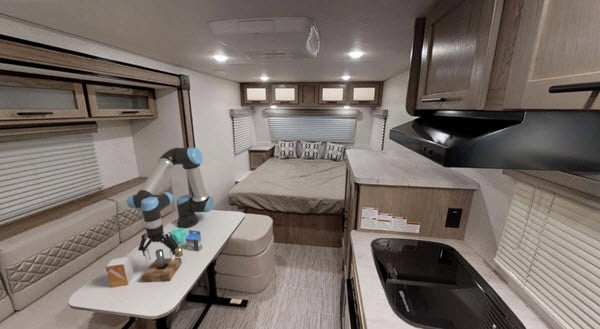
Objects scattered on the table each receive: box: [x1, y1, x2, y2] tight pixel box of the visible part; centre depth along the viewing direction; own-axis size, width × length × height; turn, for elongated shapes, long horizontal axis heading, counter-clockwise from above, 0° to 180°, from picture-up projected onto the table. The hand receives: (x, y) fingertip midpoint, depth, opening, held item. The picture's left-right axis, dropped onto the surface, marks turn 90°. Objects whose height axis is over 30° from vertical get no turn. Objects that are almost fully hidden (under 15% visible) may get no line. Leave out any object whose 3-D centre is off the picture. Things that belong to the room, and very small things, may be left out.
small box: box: [105, 256, 135, 288], centre depth 117 cm, size 8×6×13 cm
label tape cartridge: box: [185, 229, 203, 252], centre depth 145 cm, size 9×4×12 cm, turn 79°
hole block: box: [141, 257, 183, 283], centre depth 125 cm, size 14×14×4 cm
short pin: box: [175, 246, 184, 258], centre depth 139 cm, size 3×3×5 cm
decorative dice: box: [169, 227, 188, 245], centre depth 154 cm, size 8×8×8 cm
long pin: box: [155, 248, 166, 269], centre depth 124 cm, size 3×3×14 cm
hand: (161, 260), depth 123 cm, fingers open, 13 cm apart
